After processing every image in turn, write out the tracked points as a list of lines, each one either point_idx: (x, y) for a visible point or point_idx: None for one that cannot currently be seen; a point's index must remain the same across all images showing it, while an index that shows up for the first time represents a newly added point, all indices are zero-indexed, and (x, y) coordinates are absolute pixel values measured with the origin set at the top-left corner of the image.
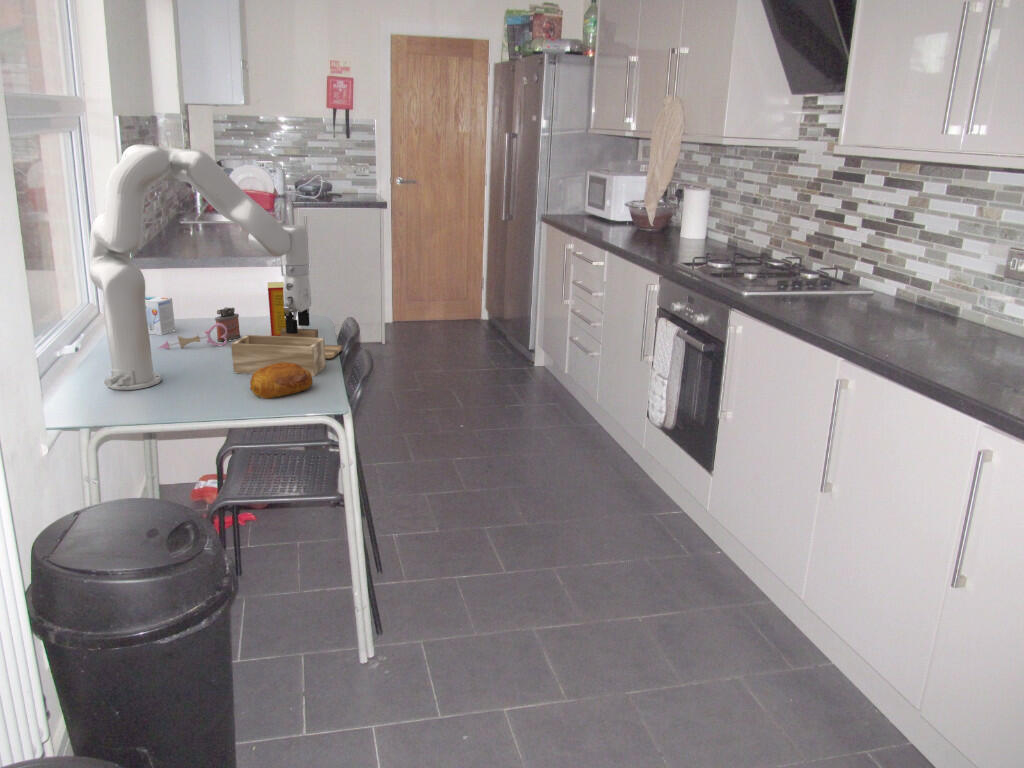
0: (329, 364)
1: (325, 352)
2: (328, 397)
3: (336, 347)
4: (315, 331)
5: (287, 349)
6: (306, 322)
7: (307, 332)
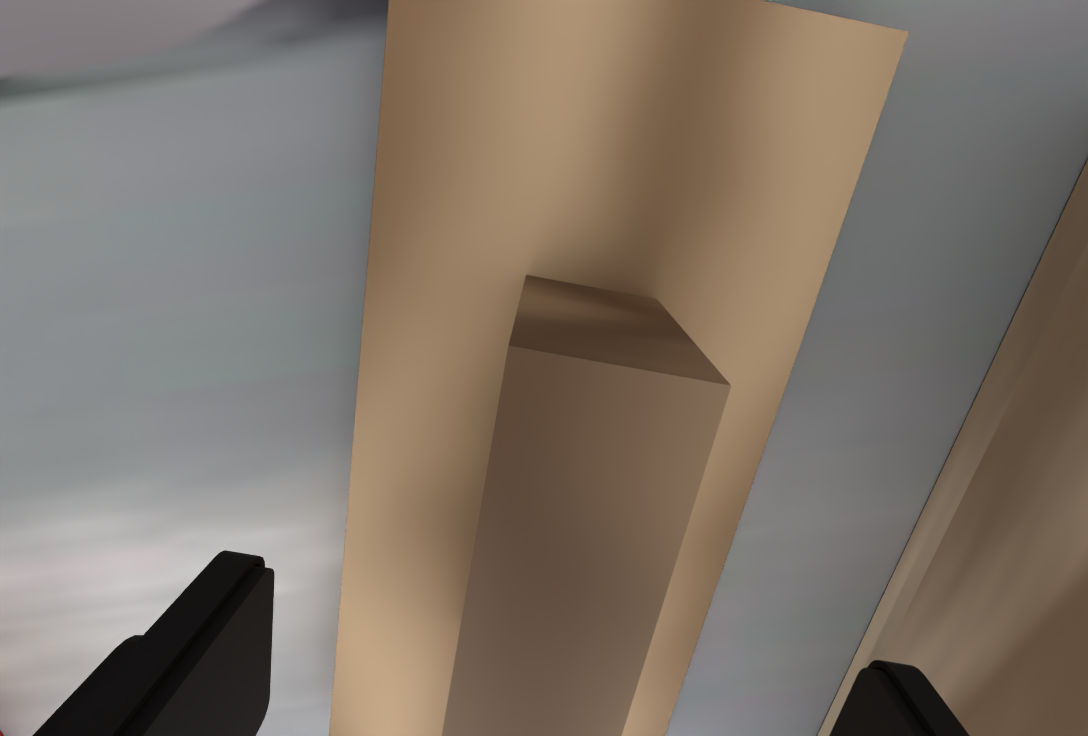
0: (1045, 63)
1: (765, 151)
2: None
3: (508, 16)
4: (661, 370)
5: None
6: (238, 640)
7: (690, 506)
